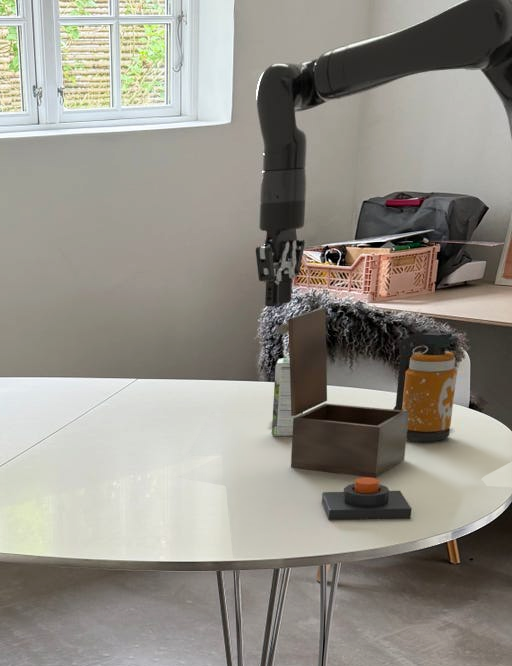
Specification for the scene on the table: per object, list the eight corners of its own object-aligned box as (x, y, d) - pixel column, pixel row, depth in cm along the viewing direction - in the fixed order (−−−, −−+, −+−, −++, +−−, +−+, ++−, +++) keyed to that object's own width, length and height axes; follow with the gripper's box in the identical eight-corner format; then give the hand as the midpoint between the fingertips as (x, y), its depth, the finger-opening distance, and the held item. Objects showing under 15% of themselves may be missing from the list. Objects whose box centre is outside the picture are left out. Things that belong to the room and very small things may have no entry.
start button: (376, 487, 149) (377, 476, 148) (380, 494, 146) (381, 483, 145) (352, 488, 150) (353, 477, 149) (355, 495, 147) (356, 484, 146)
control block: (399, 500, 152) (401, 479, 151) (410, 519, 144) (412, 497, 143) (321, 502, 154) (323, 481, 153) (328, 520, 146) (330, 498, 145)
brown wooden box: (404, 460, 172) (409, 410, 168) (375, 478, 163) (380, 427, 159) (321, 449, 181) (325, 403, 177) (290, 467, 173) (293, 418, 169)
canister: (434, 446, 178) (447, 336, 169) (380, 438, 185) (389, 332, 177) (457, 436, 183) (470, 328, 174) (403, 428, 191) (413, 325, 182)
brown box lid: (325, 307, 170) (300, 309, 174) (292, 318, 162) (267, 320, 165) (327, 400, 177) (303, 400, 180) (295, 415, 168) (270, 415, 171)
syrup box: (273, 429, 197) (276, 357, 191) (303, 429, 196) (307, 357, 189) (271, 436, 193) (274, 363, 186) (301, 436, 191) (305, 362, 184)
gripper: (283, 201, 155) (278, 311, 162) (322, 195, 164) (315, 299, 172) (242, 203, 159) (239, 309, 167) (282, 197, 169) (278, 298, 176)
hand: (278, 303), depth 169 cm, fingers open, 4 cm apart
